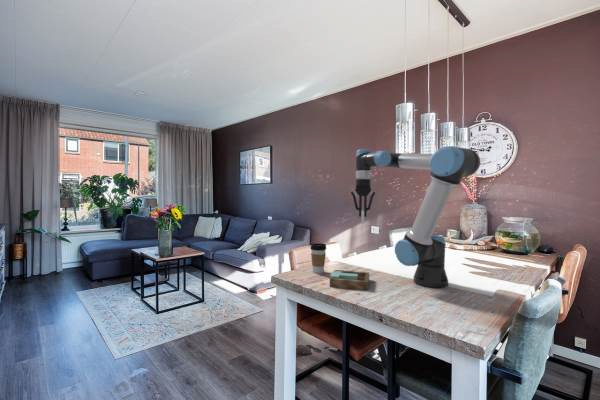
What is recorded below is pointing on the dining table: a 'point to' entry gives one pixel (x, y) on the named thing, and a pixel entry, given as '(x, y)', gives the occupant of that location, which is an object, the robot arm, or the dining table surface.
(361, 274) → the dock
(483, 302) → the dining table surface
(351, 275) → the tee block
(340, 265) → the dining table surface
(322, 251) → the coffee cup
